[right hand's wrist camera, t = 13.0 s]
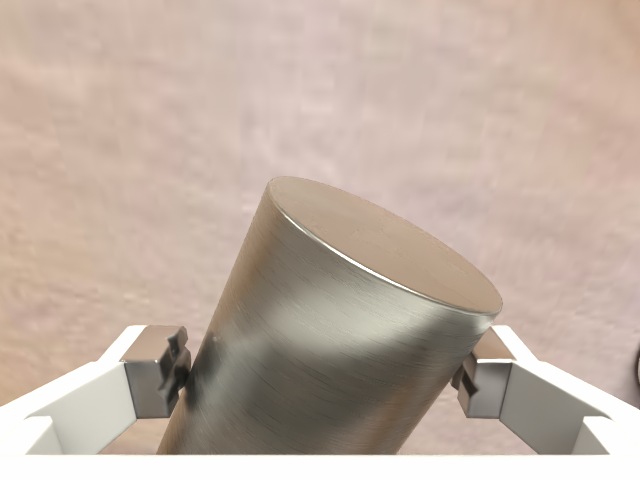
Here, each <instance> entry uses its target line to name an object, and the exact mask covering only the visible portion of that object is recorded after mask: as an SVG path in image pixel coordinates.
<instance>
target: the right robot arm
mask: <svg viewBox="0 0 640 480" xmlns="http://www.w3.org/2000/svg"><path fill="white" fill-rule="evenodd" d="M187 340H188V336H187V331H186V328H185V327H184V326H147V325H132V326H129V327H127V328H126V329H125V330H124V332H123V333H122V334H121V335H120V336H119V337H118V338H117V339H116V341H115V342H114V343H113V344H112V345H111V346H110V347H109V349H108V350H107V351H106V352H105V353H104V354H103V355H102V357H101V358H100V359H99V360H98V361H97V362H90V363H88V364H86V365H84V366H82V367H80V368H78V369H76V370H74V371H72V372H70V373H68V374H66V375H64V376H62V377H60V378H58V379H56V380H54V381H52V382H50V383H48V384H46V385H44V386H42V387H40V388H38V389H36V390H34V391H32V392H30V393H28V394H26V395H24V396H22V397H20V398H18V399H16V400H14V401H12V402H10V403H8V404H6V405H4V406H2V407H0V480H640V410H639V409H637V408H635V407H633V406H631V405H629V404H627V403H625V402H623V401H621V400H619V399H617V398H615V397H613V396H611V395H609V394H607V393H606V392H604V391H602V390H600V389H598V388H596V387H594V386H592V385H590V384H588V383H586V382H584V381H582V380H580V379H578V378H576V377H574V376H572V375H570V374H568V373H566V372H564V371H562V370H560V369H558V368H556V367H554V366H552V365H550V364H548V363H546V362H539V361H538V360H537V359H536V358H535V356H534V355H533V354H532V353H531V352H530V351H529V349H528V348H527V347H526V346H525V345H524V344H523V343H522V341H521V340H520V339H519V338H518V337H517V336H516V334H515V333H514V332H513V331H512V330H511V329H510V328H509V327H508V326H506V325H495V326H489V328H488V329H487V331H486V332H485V333H484V335H483V336H482V337H481V339H480V340H479V341H478V343H477V344H476V346H475V347H474V348H473V350H472V351H471V352H470V354H469V355H468V356H467V358H466V359H465V360H464V362H463V363H462V365H461V366H460V367H459V369H458V370H457V371H456V373H455V374H454V375H453V377H452V378H451V380H450V384H451V386H452V387H454V388H455V389H456V390H458V397H457V399H458V401H459V403H460V405H461V407H462V409H463V411H464V413H465V415H466V417H467V418H485V419H500V420H499V421H501V422H502V423H503V424H504V425H505V426H506V427H508V428H509V429H510V430H511V431H512V432H513V433H515V434H516V435H517V436H518V437H519V438H520V439H522V440H523V441H524V442H525V443H526V444H527V445H529V446H530V447H531V448H532V449H533V450H534V451H536V452H537V453H538V454H539V455H97V454H98V453H99V452H100V451H102V450H103V449H104V448H105V447H106V446H108V445H109V444H110V443H111V442H112V441H113V440H115V439H116V438H117V437H118V436H119V435H121V434H122V433H123V432H124V431H125V430H126V429H128V428H129V427H130V426H131V425H132V424H134V423H135V422H136V421H137V419H151V418H170V416H171V414H172V412H173V410H174V408H175V406H176V404H177V402H178V400H179V394H178V391H179V390H180V389H182V388H183V387H184V386H185V384H186V381H187V378H188V376H189V373H190V370H191V355H190V351H189V350H188V349H187V348H186V347H185V346H184V345H185V344H186V342H187ZM638 377H639V382H640V359H639V364H638Z"/></svg>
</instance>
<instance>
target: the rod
mask: <svg viewBox="0 0 640 480" xmlns="http://www.w3.org/2000/svg"><path fill="white" fill-rule="evenodd" d="M502 305H503V303H502V298H501V296H500V294H499V292H498V291H497V289H496V288H495V287H494V285H493V284H492V283H491V282H490V281H489V280H488V279H487V278H486V277H485V276H484V275H483V274H482V273H481V272H480V271H479V270H478V269H477V268H476V267H475V266H473V265H472V264H471V263H470V262H469V261H467V260H466V259H465V258H464V257H462V256H461V255H460V254H458V253H457V252H455V251H454V250H453V249H451V248H450V247H448V246H447V245H445V244H444V243H443V242H441V241H439V240H438V239H436V238H435V237H433V236H432V235H430V234H428V233H427V232H425V231H424V230H422V229H420V228H418V227H417V226H415V225H413V224H412V223H410V222H408V221H406V220H404V219H403V218H401V217H399V216H397V215H395V214H393V213H391V212H389V211H387V210H385V209H383V208H381V207H379V206H377V205H375V204H373V203H371V202H369V201H366V200H364V199H362V198H360V197H357V196H355V195H353V194H350V193H348V192H345V191H342V190H340V189H337V188H334V187H331V186H329V185H325V184H322V183H319V182H315V181H312V180H307V179H303V178H296V177H277V178H274V179H272V180H271V181H270V182H269V183H268V184H267V187H266V189H265V191H264V194H263V196H262V199H261V201H260V204H259V206H258V208H257V211H256V213H255V216H254V218H253V221H252V223H251V225H250V228H249V230H248V233H247V235H246V238H245V240H244V242H243V245H242V247H241V250H240V252H239V255H238V257H237V259H236V262H235V264H234V267H233V269H232V271H231V274H230V276H229V279H228V281H227V284H226V286H225V288H224V291H223V293H222V296H221V298H220V301H219V303H218V305H217V308H216V310H215V313H214V315H213V318H212V320H211V322H210V325H209V327H208V330H207V332H206V335H205V337H204V339H203V342H202V344H201V347H200V349H199V352H198V354H197V356H196V359H195V361H194V364H193V366H192V368H191V371H190V373H189V376H188V378H187V381H186V384H185V386H184V388H183V390H182V393H181V395H180V398H179V400H178V402H177V405H176V407H175V410H174V412H173V415H172V417H171V419H170V422H169V424H168V427H167V429H166V432H165V434H164V436H163V439H162V441H161V444H160V446H159V449H158V451H157V453H156V455H396V453H397V452H398V450H399V449H400V448H401V446H402V445H403V444H404V442H405V441H406V440H407V438H408V437H409V435H410V434H411V433H412V431H413V430H414V429H415V427H416V426H417V425H418V423H419V422H420V420H421V419H422V418H423V416H424V415H425V414H426V412H427V411H428V410H429V408H430V407H431V405H432V404H433V403H434V401H435V400H436V399H437V397H438V396H439V395H440V393H441V392H442V390H443V389H444V388H445V386H446V385H447V384H448V382H449V381H450V380H451V378H452V377H453V375H454V374H455V373H456V371H457V370H458V369H459V367H460V366H461V365H462V363H463V362H464V360H465V359H466V358H467V356H468V355H469V354H470V352H471V351H472V350H473V348H474V347H475V346H476V344H477V343H478V341H479V340H480V339H481V337H482V336H483V335H484V333H485V332H486V331H487V329H488V328H489V326H490V325H491V324H492V322H493V321H494V320H495V318H496V317H497V316H498V314H499V313H500V311H501V309H502Z"/></svg>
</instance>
